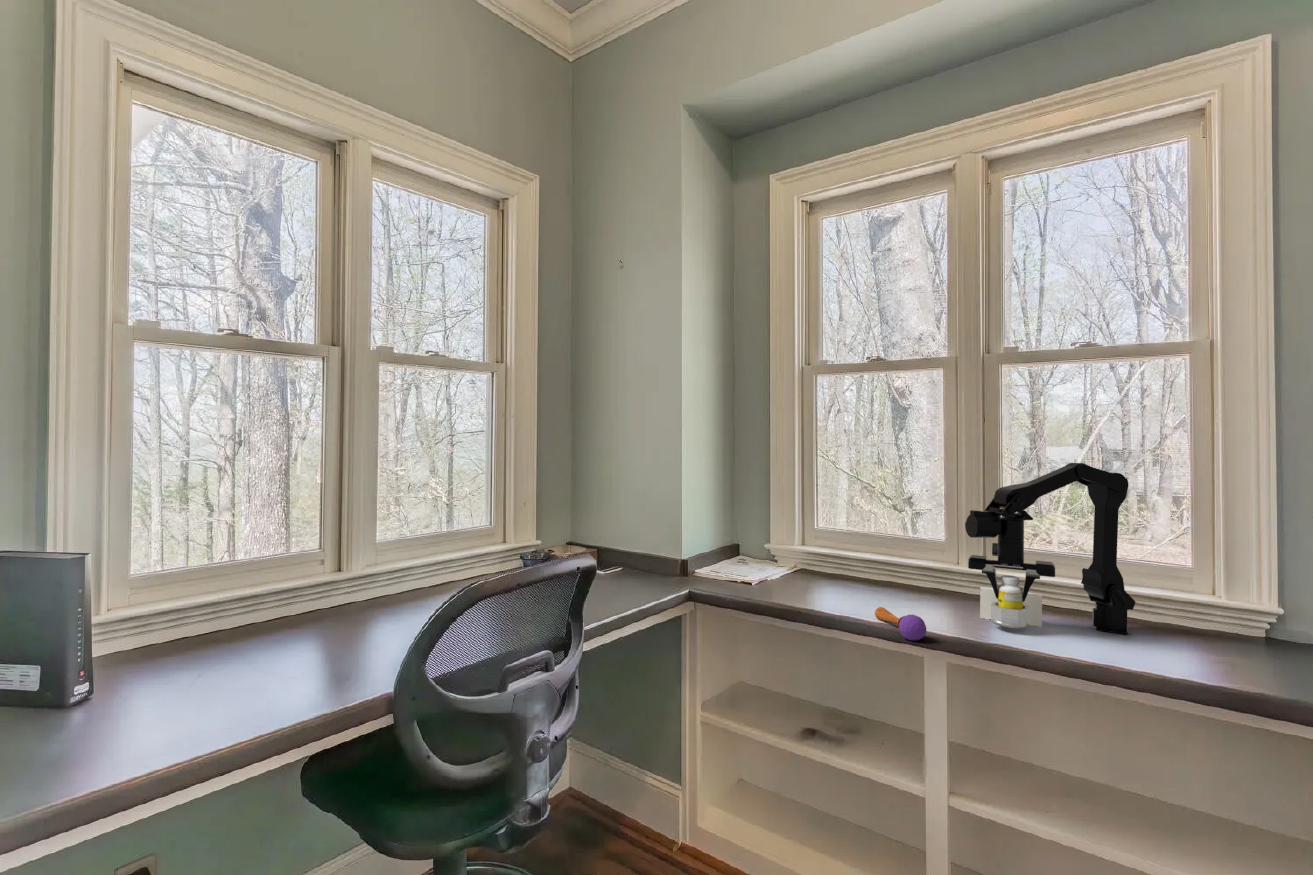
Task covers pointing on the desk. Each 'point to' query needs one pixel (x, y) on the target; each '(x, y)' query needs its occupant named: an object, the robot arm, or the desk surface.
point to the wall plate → (1031, 600)
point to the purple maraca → (904, 624)
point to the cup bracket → (1010, 616)
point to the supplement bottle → (1010, 593)
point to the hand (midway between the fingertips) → (1010, 599)
